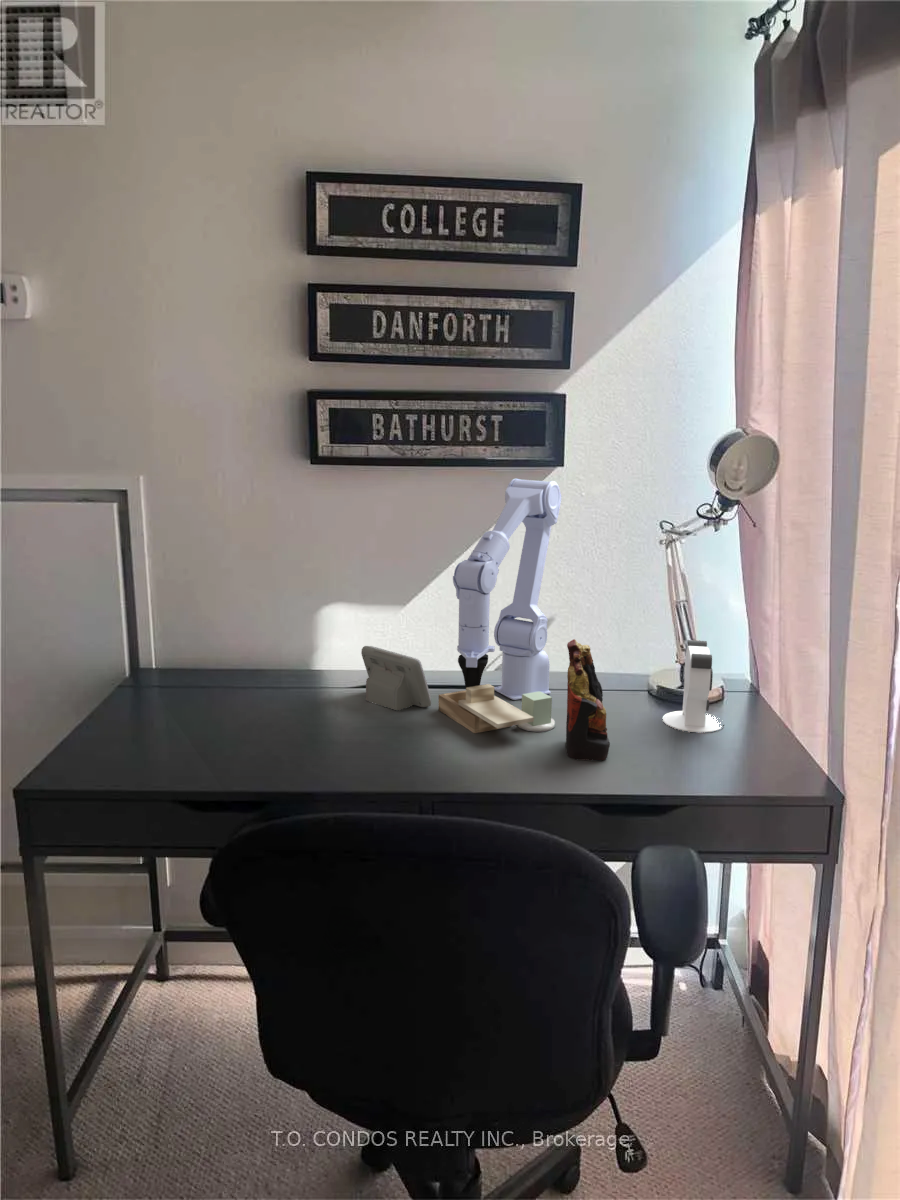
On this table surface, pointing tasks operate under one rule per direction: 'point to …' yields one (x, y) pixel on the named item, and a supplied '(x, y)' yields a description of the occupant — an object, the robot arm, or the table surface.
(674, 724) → the white post on disc
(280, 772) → the table surface
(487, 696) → the lid
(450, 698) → the pencil box
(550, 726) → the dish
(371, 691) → the digital clock
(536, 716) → the green block
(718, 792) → the table surface
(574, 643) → the statue
